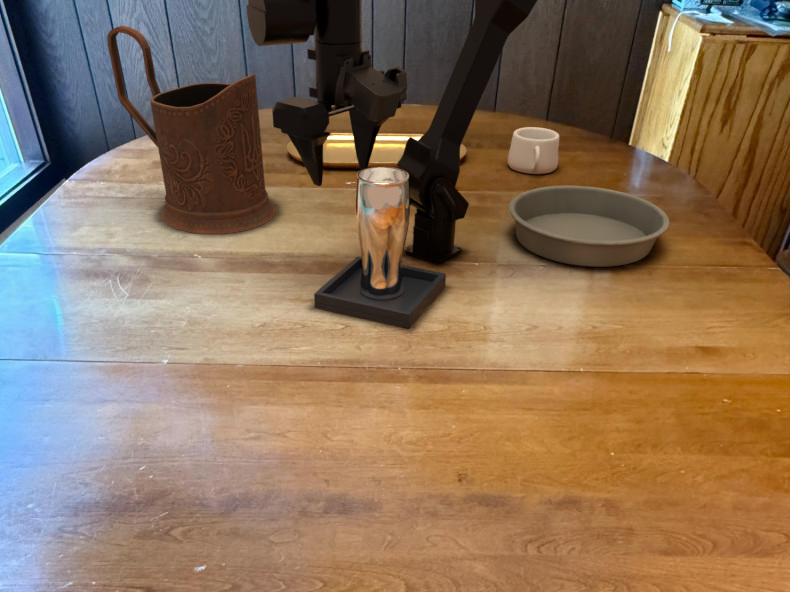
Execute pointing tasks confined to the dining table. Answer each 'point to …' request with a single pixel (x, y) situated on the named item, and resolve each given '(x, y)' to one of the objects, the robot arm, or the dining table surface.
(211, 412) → the dining table surface
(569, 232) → the cake pan
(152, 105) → the cup holder
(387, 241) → the beer glass
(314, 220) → the dining table surface
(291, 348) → the dining table surface
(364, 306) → the serving tray
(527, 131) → the mug
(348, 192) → the dining table surface
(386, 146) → the serving platter
